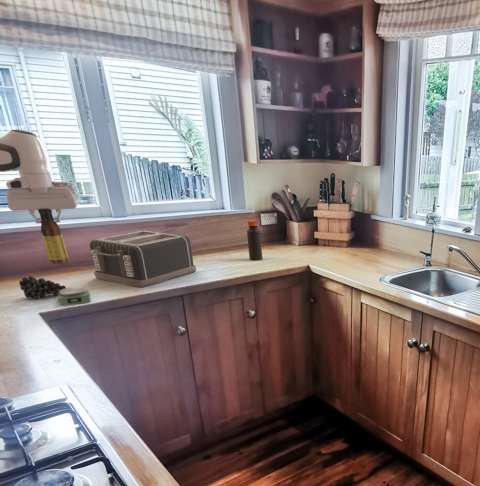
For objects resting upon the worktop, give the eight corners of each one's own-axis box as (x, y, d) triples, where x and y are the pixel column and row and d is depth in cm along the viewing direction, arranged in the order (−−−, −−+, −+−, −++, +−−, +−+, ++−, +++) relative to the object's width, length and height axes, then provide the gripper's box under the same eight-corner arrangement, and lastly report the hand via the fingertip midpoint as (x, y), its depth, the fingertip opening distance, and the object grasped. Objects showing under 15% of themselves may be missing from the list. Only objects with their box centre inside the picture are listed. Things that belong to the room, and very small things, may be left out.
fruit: (62, 270, 187) (16, 273, 180) (63, 281, 182) (16, 285, 175) (66, 288, 192) (22, 292, 185) (68, 300, 187) (22, 304, 180)
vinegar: (264, 258, 252) (261, 220, 243) (259, 261, 246) (255, 222, 237) (253, 257, 253) (249, 219, 245) (247, 260, 247) (243, 221, 239)
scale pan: (58, 296, 175) (58, 294, 175) (60, 290, 183) (59, 288, 182) (87, 293, 179) (86, 291, 179) (87, 287, 187) (87, 285, 186)
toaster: (85, 280, 206) (75, 241, 199) (151, 263, 235) (145, 228, 228) (133, 290, 195) (124, 249, 187) (196, 271, 224) (191, 235, 216)
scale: (60, 306, 176) (57, 298, 174) (61, 298, 184) (59, 290, 183) (90, 302, 180) (88, 295, 179) (90, 295, 188) (89, 287, 187)
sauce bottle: (58, 260, 177) (44, 205, 169) (73, 261, 177) (59, 206, 168) (45, 264, 171) (29, 208, 163) (60, 265, 171) (45, 209, 162)
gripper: (72, 180, 169) (81, 219, 175) (3, 181, 160) (15, 222, 166) (71, 182, 164) (81, 222, 170) (0, 183, 155) (13, 225, 161)
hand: (48, 222), depth 168 cm, fingers closed on sauce bottle, 4 cm apart
